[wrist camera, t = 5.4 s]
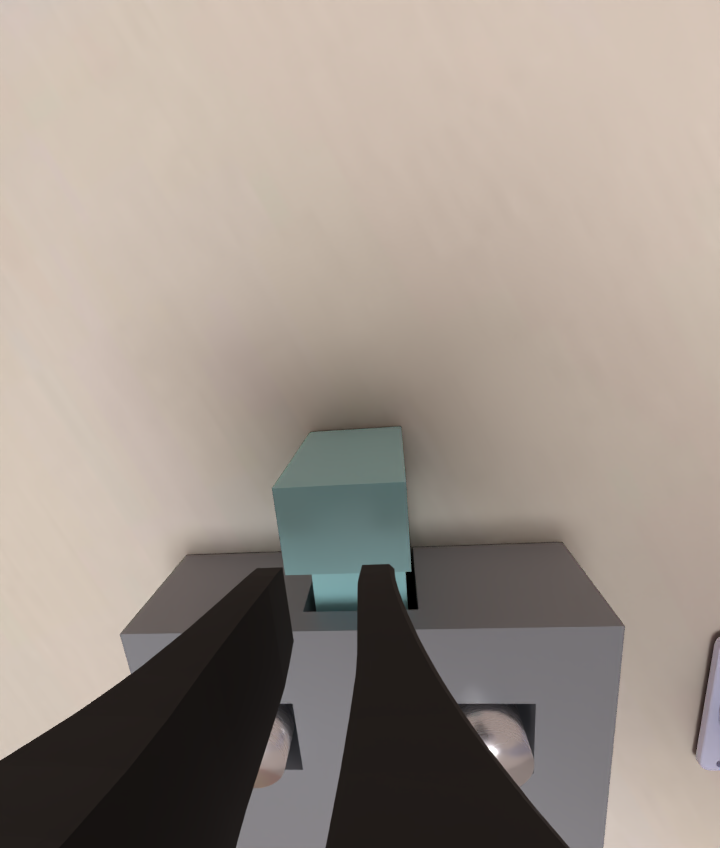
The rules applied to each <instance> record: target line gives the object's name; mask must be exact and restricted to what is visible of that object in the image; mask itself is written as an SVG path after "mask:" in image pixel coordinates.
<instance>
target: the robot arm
mask: <svg viewBox="0 0 720 848" xmlns="http://www.w3.org/2000/svg"><path fill="white" fill-rule="evenodd" d="M293 643H294V639H293V633H292V626H291V619H290V613H289V606H288V600H287V593H286V587H285V580H284V574H283V567H275V568H256V569H255V570H254V571H253V572H251V573H250V574H249V575H248V576H247V577H246V578H245V579H243V580H242V581H241V582H240V583H239V584H238V585H237V586H236V587H234V588H233V589H232V590H231V591H230V592H229V593H228V594H227V595H226V596H224V597H223V598H222V599H221V600H220V601H219V602H218V603H217V604H215V605H214V606H213V607H212V608H211V609H210V610H209V611H207V612H206V613H205V614H204V615H203V616H202V617H201V618H200V619H198V620H197V621H196V622H195V623H194V624H193V625H192V626H190V627H189V628H188V629H187V630H186V631H184V632H183V633H182V634H181V635H179V636H178V637H177V638H176V639H175V640H173V641H172V642H171V643H170V644H168V645H167V646H166V647H165V648H163V649H162V650H161V651H160V652H159V653H157V654H156V655H155V656H154V657H152V658H151V659H150V660H149V661H147V662H146V663H145V664H144V665H142V666H141V667H140V668H138V669H137V670H136V671H135V672H133V673H132V674H131V675H129V676H128V677H126V678H125V679H124V680H122V681H121V682H120V683H118V684H117V685H116V686H114V687H113V688H111V689H110V690H108V691H107V692H106V693H104V694H103V695H101V696H100V697H98V698H97V699H96V700H94V701H93V702H91V703H90V704H88V705H87V706H86V707H84V708H83V709H81V710H80V711H78V712H77V713H75V714H74V715H72V716H71V717H69V718H67V719H66V720H64V721H63V722H61V723H59V724H58V725H56V726H55V727H53V728H52V729H50V730H48V731H47V732H45V733H44V734H42V735H40V736H39V737H37V738H36V739H34V740H32V741H31V742H29V743H28V744H26V745H24V746H23V747H21V748H20V749H18V750H16V751H15V752H13V753H12V754H10V755H8V756H7V757H5V758H4V759H2V760H0V848H236V846H237V842H238V838H239V834H240V831H241V827H242V824H243V820H244V817H245V813H246V809H247V806H248V803H249V800H250V797H251V794H252V791H253V787H254V784H255V781H256V778H257V775H258V772H259V768H260V765H261V762H262V759H263V756H264V753H265V750H266V746H267V743H268V740H269V737H270V734H271V731H272V728H273V724H274V721H275V718H276V715H277V712H278V708H279V705H280V702H281V699H282V695H283V692H284V689H285V684H286V679H287V674H288V670H289V665H290V659H291V654H292V648H293ZM696 760H697V761H698V763H699V764H700V766H701V767H702V768H704V769H706V770H720V637H719V638H718V639H717V640H716V641H715V644H714V649H713V655H712V661H711V667H710V673H709V679H708V685H707V691H706V697H705V703H704V709H703V715H702V721H701V727H700V733H699V739H698V745H697V751H696ZM326 848H570V847H569V846H568V845H567V844H566V843H565V841H564V840H563V839H562V838H561V837H560V836H559V834H558V833H557V832H556V831H555V830H554V829H553V827H552V826H551V825H550V824H549V823H548V822H547V820H546V819H545V818H544V817H543V816H542V815H541V813H540V812H539V811H538V810H537V809H536V808H535V806H534V805H533V804H532V803H531V801H530V800H529V799H528V798H527V796H526V795H525V794H524V792H523V791H522V790H521V789H520V787H519V786H518V785H517V784H516V782H515V781H514V780H513V778H512V777H511V776H510V775H509V773H508V772H507V771H506V770H505V768H504V767H503V766H502V764H501V763H500V762H499V761H498V759H497V758H496V757H495V756H494V754H493V753H492V752H491V750H490V749H489V748H488V747H487V745H486V744H485V743H484V741H483V740H482V738H481V737H480V736H479V734H478V733H477V731H476V730H475V728H474V727H473V726H472V724H471V723H470V721H469V720H468V718H467V717H466V716H465V714H464V713H463V711H462V710H461V708H460V707H459V705H458V704H457V702H456V701H455V699H454V697H453V696H452V694H451V693H450V691H449V690H448V688H447V687H446V685H445V683H444V682H443V680H442V678H441V677H440V675H439V673H438V672H437V670H436V668H435V666H434V665H433V663H432V661H431V659H430V657H429V656H428V654H427V652H426V650H425V648H424V646H423V644H422V643H421V641H420V639H419V637H418V635H417V633H416V630H415V628H414V626H413V624H412V622H411V620H410V617H409V615H408V613H407V611H406V608H405V606H404V603H403V601H402V598H401V595H400V592H399V589H398V586H397V582H396V578H395V569H394V568H393V567H392V566H391V565H390V564H372V565H362V567H361V571H360V574H359V579H358V587H357V662H356V675H355V682H354V689H353V696H352V702H351V709H350V716H349V722H348V728H347V734H346V740H345V746H344V752H343V757H342V763H341V769H340V775H339V780H338V785H337V791H336V796H335V801H334V806H333V811H332V816H331V822H330V827H329V832H328V837H327V842H326Z"/></svg>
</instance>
